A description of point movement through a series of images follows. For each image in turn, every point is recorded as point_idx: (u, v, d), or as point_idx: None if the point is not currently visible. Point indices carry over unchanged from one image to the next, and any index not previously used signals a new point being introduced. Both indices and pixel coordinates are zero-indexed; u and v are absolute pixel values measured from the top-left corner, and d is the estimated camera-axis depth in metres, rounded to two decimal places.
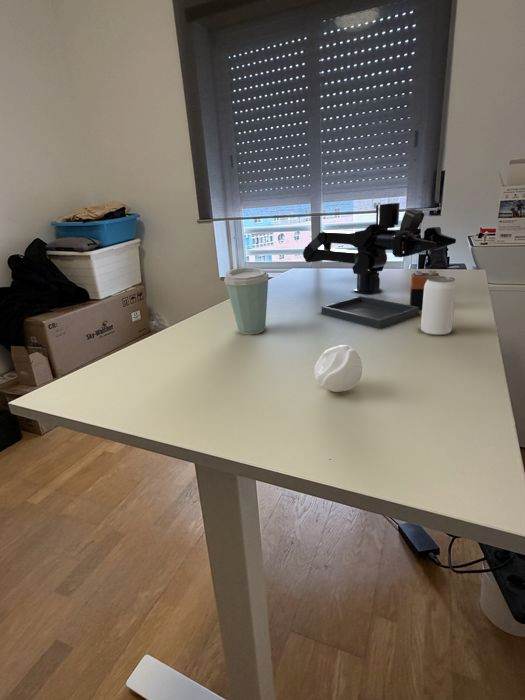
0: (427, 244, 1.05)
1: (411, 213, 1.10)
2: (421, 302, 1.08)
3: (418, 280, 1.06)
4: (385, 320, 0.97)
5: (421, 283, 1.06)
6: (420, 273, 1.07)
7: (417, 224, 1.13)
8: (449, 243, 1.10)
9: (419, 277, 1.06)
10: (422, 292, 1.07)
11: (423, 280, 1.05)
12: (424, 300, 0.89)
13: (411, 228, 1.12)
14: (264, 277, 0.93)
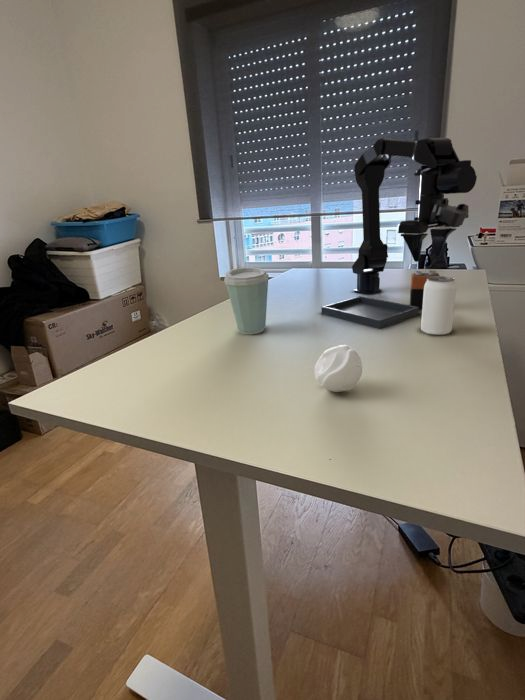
0: (416, 253, 1.02)
1: (454, 221, 0.95)
2: (421, 302, 1.08)
3: (418, 280, 1.06)
4: (385, 320, 0.97)
5: (421, 283, 1.06)
6: (420, 273, 1.07)
7: None
8: (434, 250, 1.08)
9: (419, 277, 1.06)
10: (422, 292, 1.07)
11: (423, 280, 1.05)
12: (424, 300, 0.89)
13: None
14: (264, 277, 0.93)
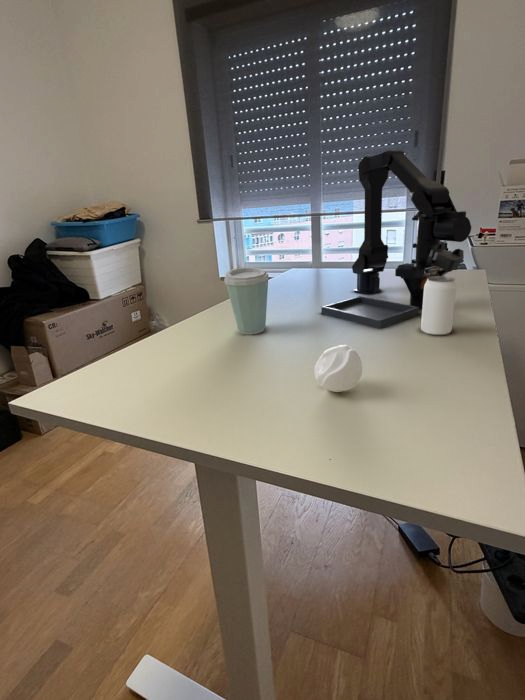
0: (415, 294, 1.06)
1: (449, 266, 0.99)
2: (421, 302, 1.08)
3: None
4: (385, 320, 0.97)
5: (421, 283, 1.06)
6: None
7: None
8: None
9: None
10: (422, 292, 1.07)
11: None
12: (424, 300, 0.89)
13: None
14: (264, 277, 0.93)
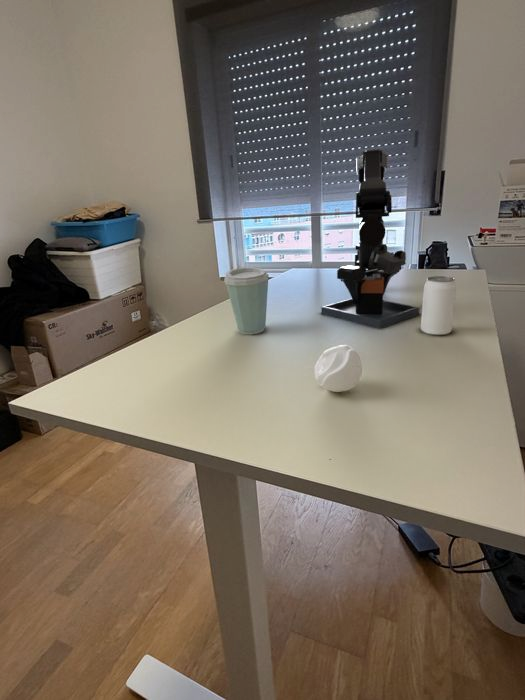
0: (356, 297, 1.03)
1: (390, 269, 0.96)
2: (365, 306, 1.05)
3: None
4: (385, 320, 0.97)
5: (365, 287, 1.04)
6: (364, 277, 1.04)
7: None
8: None
9: None
10: (366, 296, 1.04)
11: (367, 284, 1.03)
12: (424, 300, 0.89)
13: None
14: (264, 277, 0.93)
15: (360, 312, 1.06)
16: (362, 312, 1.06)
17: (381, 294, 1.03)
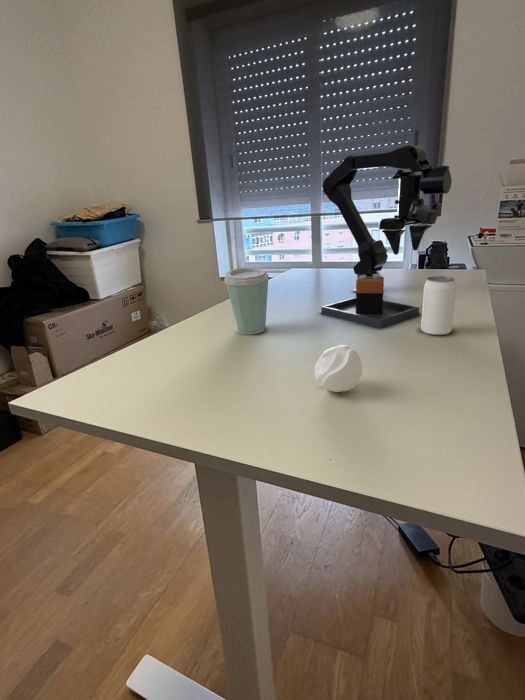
0: (395, 247, 1.15)
1: (427, 218, 1.09)
2: (365, 306, 1.05)
3: (362, 284, 1.04)
4: (385, 320, 0.97)
5: (365, 287, 1.04)
6: (364, 277, 1.04)
7: None
8: (413, 245, 1.21)
9: (362, 280, 1.03)
10: (366, 296, 1.04)
11: (367, 284, 1.03)
12: (424, 300, 0.89)
13: None
14: (264, 277, 0.93)
15: (360, 312, 1.06)
16: (362, 312, 1.06)
17: (381, 294, 1.03)
